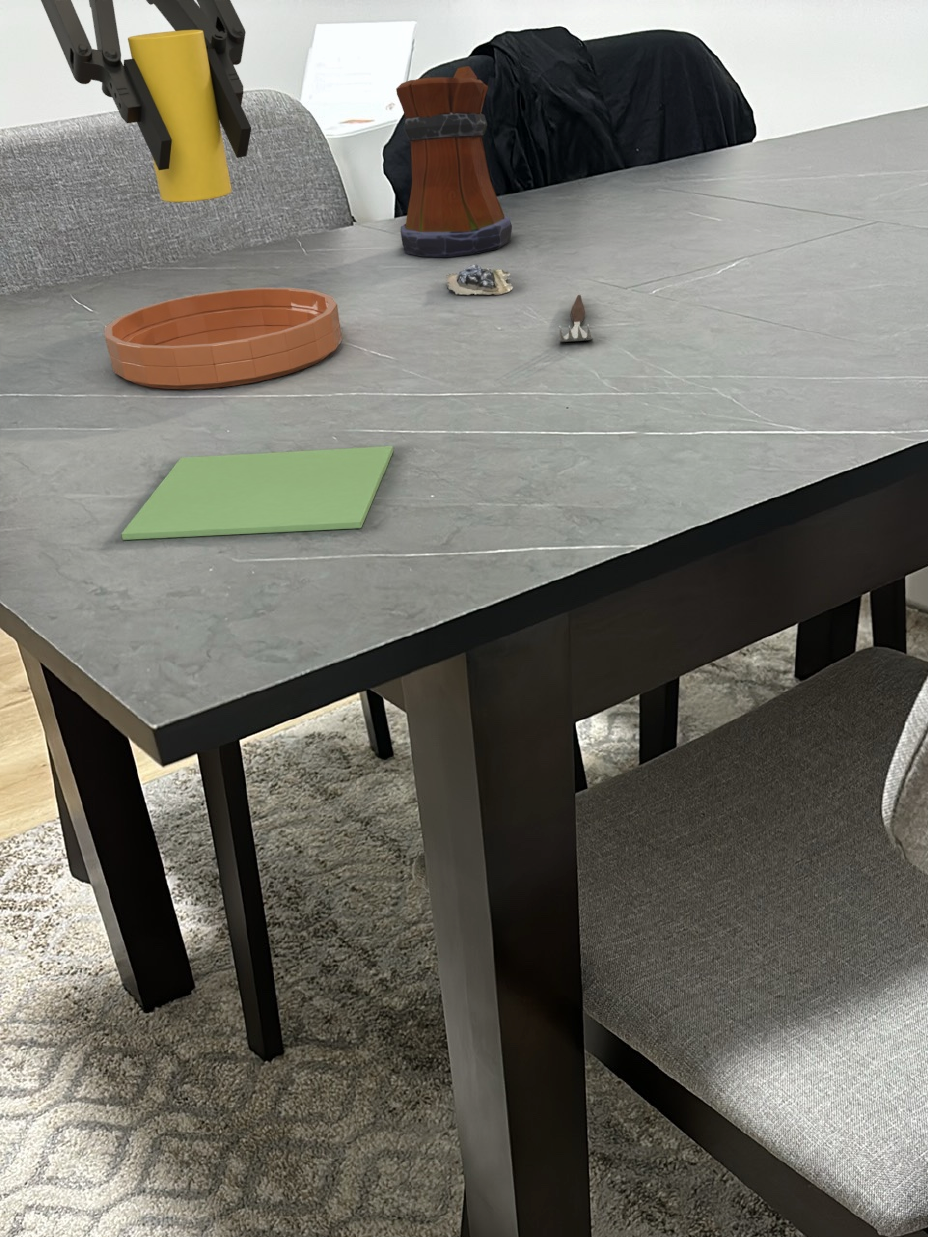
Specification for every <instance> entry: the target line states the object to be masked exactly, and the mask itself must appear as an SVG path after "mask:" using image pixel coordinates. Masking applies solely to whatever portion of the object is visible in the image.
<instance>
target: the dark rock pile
mask: <svg viewBox="0 0 928 1237" xmlns="http://www.w3.org/2000/svg"><path fill="white" fill-rule="evenodd" d="M510 275H511V273H510V272H509V271H505V270H504V269H491V268H488V267H486V268H482V267H481V266H480V265H478V264H477V263H476V264H470V265H469V266H466V267H464V268H463V269H462V270H461V271H459V272H458V273H457V272H455V273H452V274H451V273H448V275H447V274H446V275H445V281H446V282H448V283H446V285H447V288H448V289H449V290H451V291H452V292H454V294H455V295H467V296H470V295H473V294H474V295H486V296H487V295H488V296H489V295H493V296H499V295H503V294H506V293H509V292H511V291H512V290H513V289H514V286H512V283H511V282H509V283H508V282H507V281H508V280H510V279H511V277H509V276H510Z"/></svg>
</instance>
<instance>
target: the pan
mask: <svg viewBox="0 0 928 1237" xmlns="http://www.w3.org/2000/svg"><path fill="white" fill-rule="evenodd" d="M342 335H343V334H342V328H341V323H340V314H339V308H338V303H337V302H336V301H335V298H334V297H333V296H332V295H329V294H326V293H324V292H321V291H318V290H313V289H305V288H297V287H251V288H236V289H235V288H234V289H225V290H218V291H210V292H204V293H196V294H190V295H186V296H182V297H177V298H172V299H166V300H162V301H159V302H156V303H153V304H149V305H145V306H143V307H139V308H136V309H133V310H131V311H130V312H127V313H125V314H122V315H120V316H119V317H116V318H115V319H113V320H112V321H111V322H110V323H109V324H107V325H106V326H105V327H104V340H105V343H106V347H107V348H106V349H107V352H108V356H109V360H110V365H111V367H112V370H113V373H114V374H116V375H117V376H119V377H121V378H122V379H124V380H126V381H130V382H131V383H134V384H136V385H139V386H143V387H148V388H154V389H163V390H206V389H216V388H225V387H226V388H227V387H234V386H241V385H247V384H252V383H258V382H264V381H267V380H272V379H276V378H279V377H284V376H287V375H290V374H293V373H296V372H299V371H302V370H305V369H308V368H309V367H312V366H313V365H316V364H318V363H319V362H321V361H323V360H324V359H325V358H327V357H328V356H329V355H330V354H331V353H332V352H334V351H335V350H337V348H338V347H339V345H340V344H341V342H342V340H343V336H342Z"/></svg>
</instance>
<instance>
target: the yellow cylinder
mask: <svg viewBox="0 0 928 1237" xmlns="http://www.w3.org/2000/svg"><path fill="white" fill-rule="evenodd" d="M127 42H128V47H129V51H130V52H129V53H130V56H131V59H135V61H136V63H137V65H138V68H139V70H140V72H141V74H142V76H143V78H144V81H145V83H146V85H147V87H148V89H149V91H150V93H151V96H152V98H153V100H154V102H155V104H156V106H157V109H158V111H159V113H160V115H161V117H162V119H163V122H164V124H165V126H166V128H167V130H168V132H169V135H170V137H171V139H172V145H171V154H170V164H169V169H164V170H158V167H157V165H156V163H155V161H154V159H153V157H152V156H151V157H152V163H153V166H154V171H155V176H156V181H157V185H158V191H159V196H160V199H161V201H163V202H166V203H188V202H189V203H191V202H200V201H201V202H202V201H206V200H207V201H208V200H212V199H217V198H218V199H219V198H221V197H225V196H228V195H230V194H231V193H232V184H231V178H230V174H229V168H228V162H227V157H226V151H225V145H224V140H223V135H222V129H221V123H220V121H219V117H218V111H217V106H216V100H215V95H214V89H213V83H212V78H211V72H210V67H209V61H208V56H207V50H206V44H205V39H204V33H203V31H202V30H182V31H175V30H170V31H160V32H153V33H152V32H151V33H144V34H137V35H132V36H129V37H127Z"/></svg>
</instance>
